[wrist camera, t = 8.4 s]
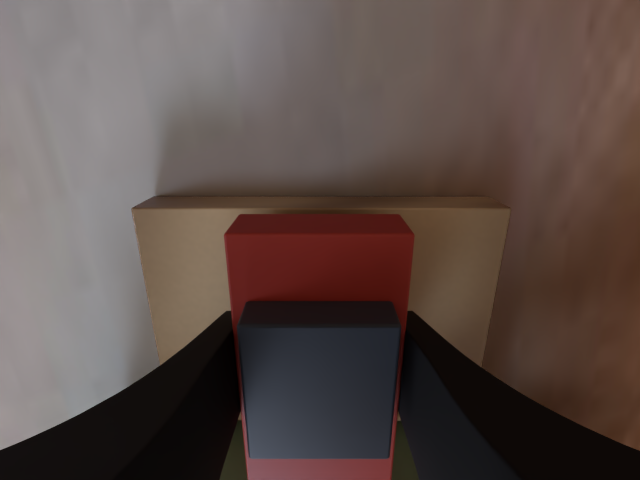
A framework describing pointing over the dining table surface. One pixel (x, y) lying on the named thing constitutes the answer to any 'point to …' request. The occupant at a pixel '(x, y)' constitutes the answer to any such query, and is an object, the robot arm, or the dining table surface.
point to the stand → (418, 212)
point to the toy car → (319, 341)
